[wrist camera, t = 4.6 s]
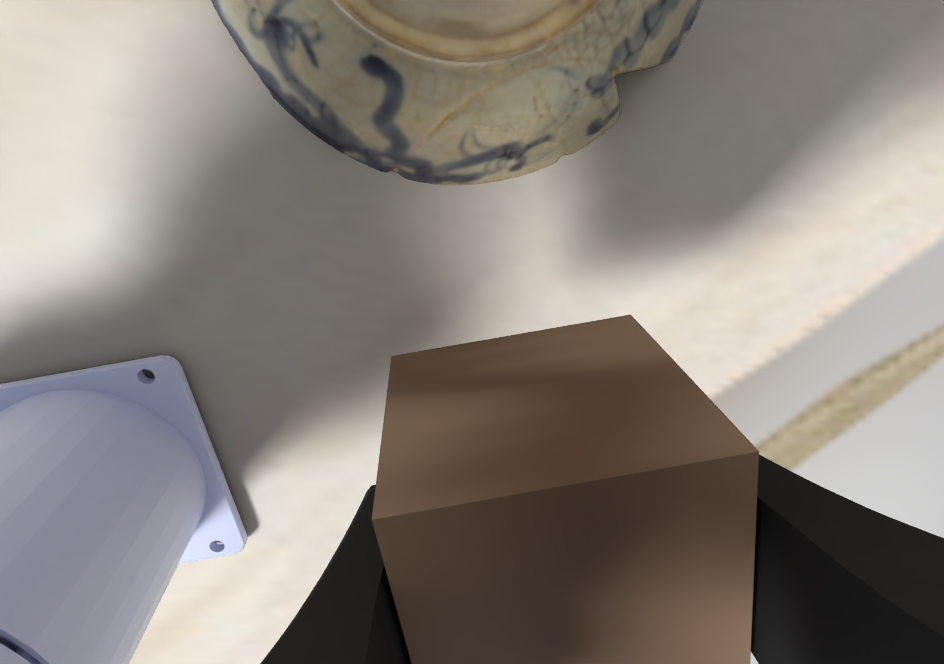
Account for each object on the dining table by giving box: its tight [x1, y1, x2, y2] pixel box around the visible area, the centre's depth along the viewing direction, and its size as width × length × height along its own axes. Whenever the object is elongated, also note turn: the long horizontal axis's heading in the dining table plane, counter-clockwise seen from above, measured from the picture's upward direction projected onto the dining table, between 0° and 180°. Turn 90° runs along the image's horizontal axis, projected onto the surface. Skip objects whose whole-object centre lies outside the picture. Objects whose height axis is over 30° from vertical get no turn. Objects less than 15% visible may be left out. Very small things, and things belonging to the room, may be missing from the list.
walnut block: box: [372, 315, 759, 664], centre depth 11 cm, size 5×5×5 cm
